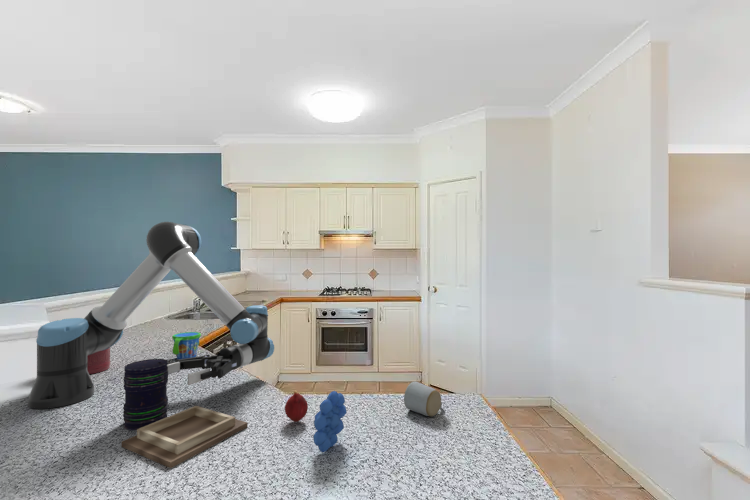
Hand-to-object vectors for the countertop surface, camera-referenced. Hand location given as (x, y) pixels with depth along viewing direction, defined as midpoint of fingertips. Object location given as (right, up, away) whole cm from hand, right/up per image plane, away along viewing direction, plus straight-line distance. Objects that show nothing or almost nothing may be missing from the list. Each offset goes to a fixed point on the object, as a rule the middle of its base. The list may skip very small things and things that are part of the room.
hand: (172, 376), depth 100 cm
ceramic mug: (+70, -10, 0) cm, 71 cm away
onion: (+36, -10, -6) cm, 38 cm away
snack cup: (-24, -11, +54) cm, 60 cm away
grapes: (+45, -10, -18) cm, 50 cm away
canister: (-52, -11, +37) cm, 65 cm away
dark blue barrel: (-4, -10, -6) cm, 12 cm away
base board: (+11, -10, -14) cm, 20 cm away
